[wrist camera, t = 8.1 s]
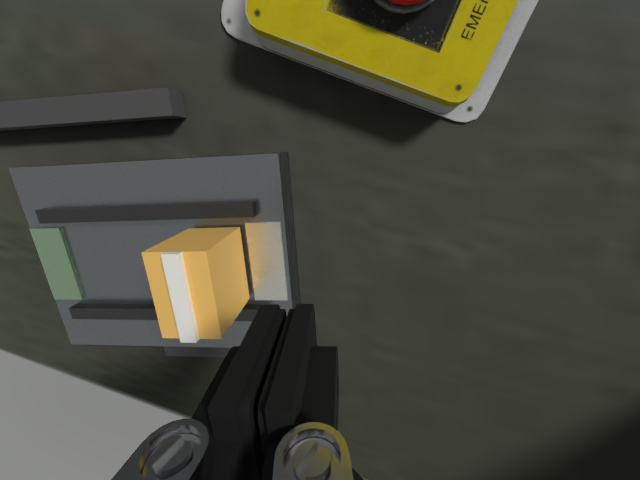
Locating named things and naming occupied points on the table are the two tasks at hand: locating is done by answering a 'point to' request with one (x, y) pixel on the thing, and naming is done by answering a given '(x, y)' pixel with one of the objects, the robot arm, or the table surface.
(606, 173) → the table surface
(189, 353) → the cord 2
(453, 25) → the emergency button
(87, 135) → the table surface
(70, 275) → the panel
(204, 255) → the cardboard box
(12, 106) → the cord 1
